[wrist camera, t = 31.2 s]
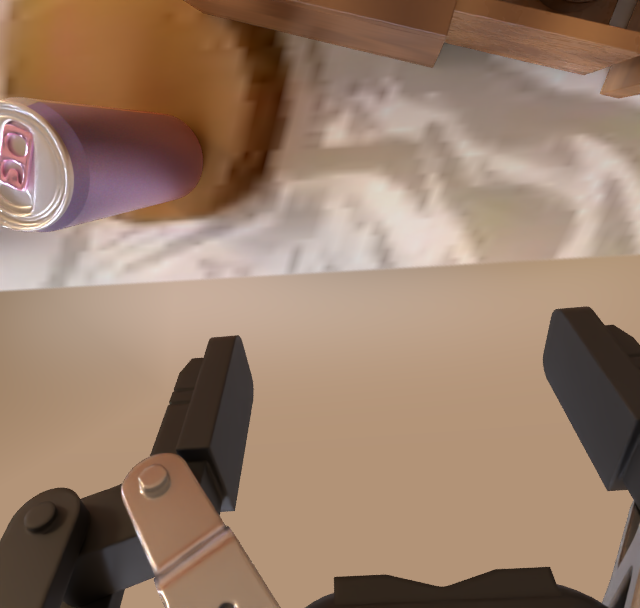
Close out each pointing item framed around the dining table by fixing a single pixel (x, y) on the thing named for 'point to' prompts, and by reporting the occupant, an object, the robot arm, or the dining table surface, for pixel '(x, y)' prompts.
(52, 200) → the beverage can
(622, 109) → the dining table surface
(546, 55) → the drawer
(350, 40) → the cabinet
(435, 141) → the dining table surface
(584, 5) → the egg
